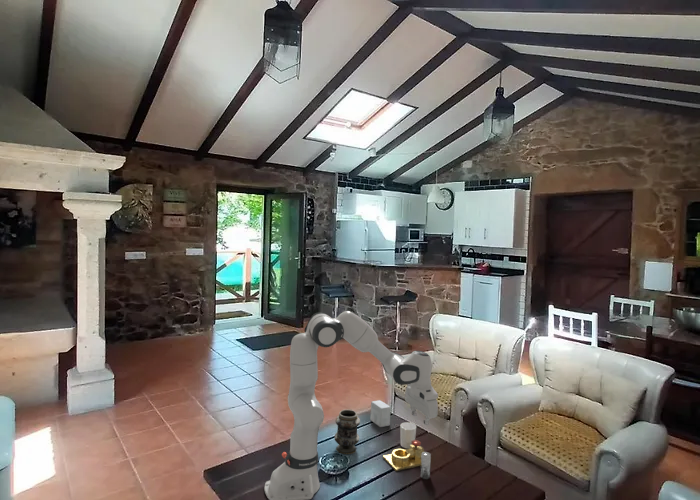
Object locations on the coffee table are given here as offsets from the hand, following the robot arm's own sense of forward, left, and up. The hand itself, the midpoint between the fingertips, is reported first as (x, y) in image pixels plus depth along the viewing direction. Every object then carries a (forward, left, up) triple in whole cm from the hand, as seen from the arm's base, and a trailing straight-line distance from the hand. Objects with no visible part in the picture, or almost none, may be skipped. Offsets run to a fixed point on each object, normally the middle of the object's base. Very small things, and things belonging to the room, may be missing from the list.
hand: (420, 419), depth 191 cm
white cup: (+10, +24, -25) cm, 36 cm away
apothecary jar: (-20, +31, -25) cm, 45 cm away
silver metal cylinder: (+3, -2, -25) cm, 25 cm away
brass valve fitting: (+1, +12, -25) cm, 28 cm away
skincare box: (+9, +51, -25) cm, 58 cm away
